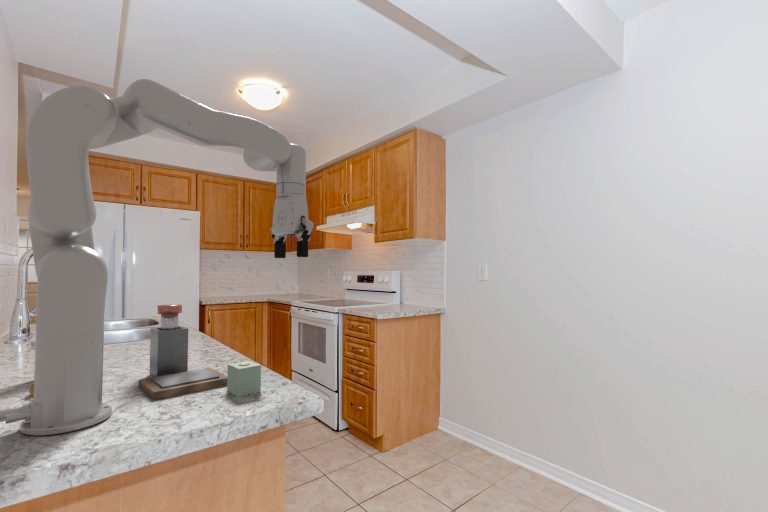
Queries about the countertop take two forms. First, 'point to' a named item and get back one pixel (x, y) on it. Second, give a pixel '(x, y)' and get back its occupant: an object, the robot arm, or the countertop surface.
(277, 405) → the countertop surface
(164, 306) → the push button
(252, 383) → the block
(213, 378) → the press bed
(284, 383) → the countertop surface
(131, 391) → the countertop surface
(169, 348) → the column
